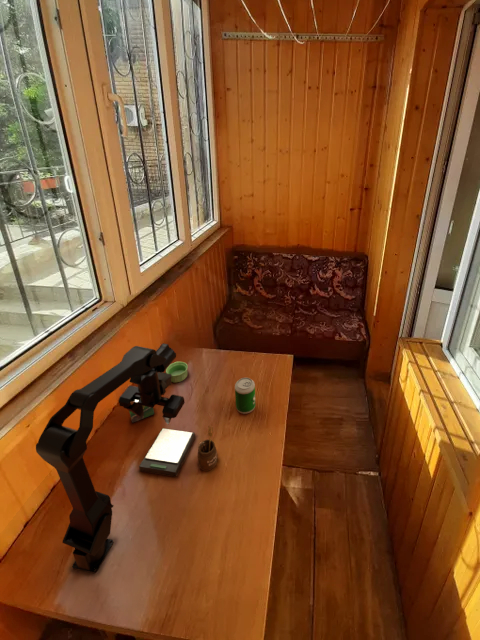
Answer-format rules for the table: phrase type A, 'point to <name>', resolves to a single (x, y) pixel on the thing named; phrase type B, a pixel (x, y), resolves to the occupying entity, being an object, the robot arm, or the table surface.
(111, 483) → the table surface
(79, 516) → the robot arm
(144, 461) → the kitchen scale
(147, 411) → the coffee box
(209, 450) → the utensil holder
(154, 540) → the table surface
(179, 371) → the ramekin
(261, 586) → the table surface
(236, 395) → the soda can
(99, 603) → the table surface
